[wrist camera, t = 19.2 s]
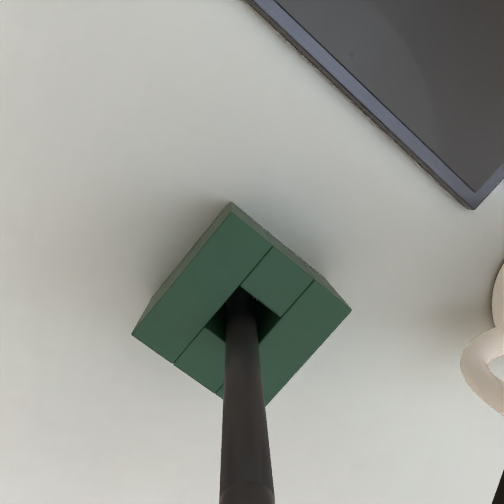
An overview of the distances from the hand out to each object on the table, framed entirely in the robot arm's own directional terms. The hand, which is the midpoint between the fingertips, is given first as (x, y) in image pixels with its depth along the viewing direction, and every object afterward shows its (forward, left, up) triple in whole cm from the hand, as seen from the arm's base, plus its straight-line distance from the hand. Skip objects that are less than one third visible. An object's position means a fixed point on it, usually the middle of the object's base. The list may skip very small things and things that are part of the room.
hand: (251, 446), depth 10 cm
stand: (0, 0, -13) cm, 13 cm away
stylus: (0, 0, -13) cm, 13 cm away
